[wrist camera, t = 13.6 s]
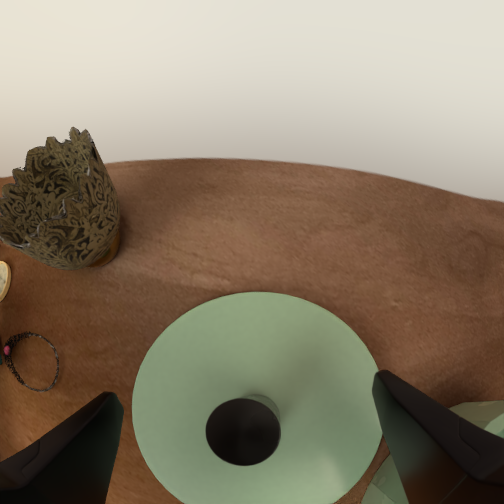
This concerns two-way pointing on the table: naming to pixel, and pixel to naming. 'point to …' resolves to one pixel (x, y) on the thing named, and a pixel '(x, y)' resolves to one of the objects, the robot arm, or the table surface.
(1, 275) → the pocket watch
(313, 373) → the lid
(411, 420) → the robot arm
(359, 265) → the table surface
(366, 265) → the table surface
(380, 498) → the pot
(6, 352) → the necklace
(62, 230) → the cup
